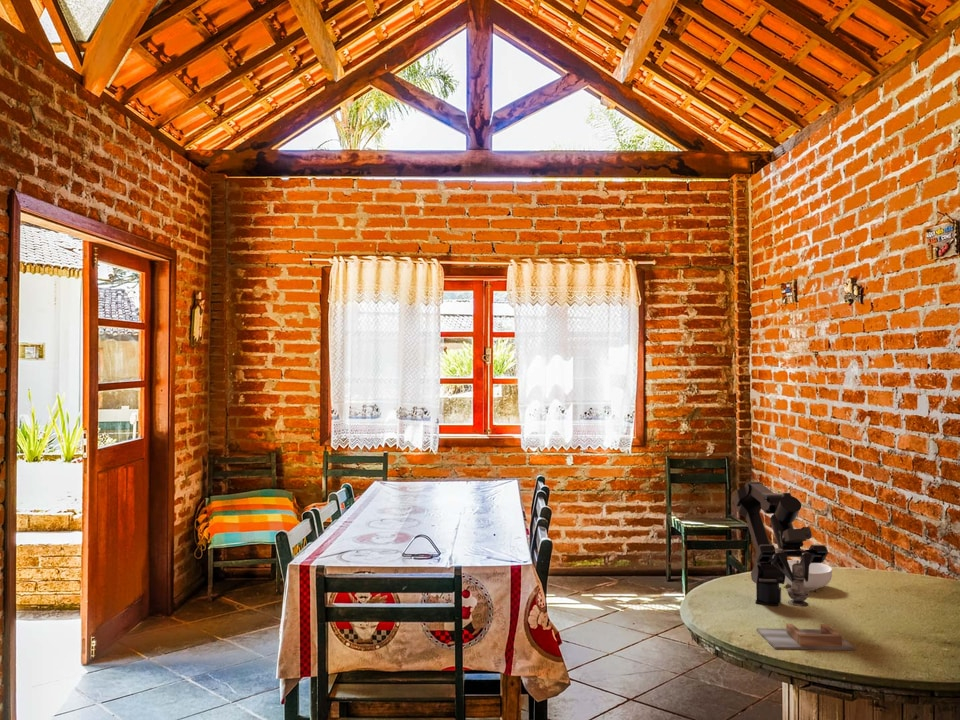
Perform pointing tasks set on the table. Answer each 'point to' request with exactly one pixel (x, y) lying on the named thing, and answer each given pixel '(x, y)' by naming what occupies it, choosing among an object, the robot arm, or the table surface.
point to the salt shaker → (798, 587)
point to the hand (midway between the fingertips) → (799, 581)
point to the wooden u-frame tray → (805, 638)
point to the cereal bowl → (814, 575)
